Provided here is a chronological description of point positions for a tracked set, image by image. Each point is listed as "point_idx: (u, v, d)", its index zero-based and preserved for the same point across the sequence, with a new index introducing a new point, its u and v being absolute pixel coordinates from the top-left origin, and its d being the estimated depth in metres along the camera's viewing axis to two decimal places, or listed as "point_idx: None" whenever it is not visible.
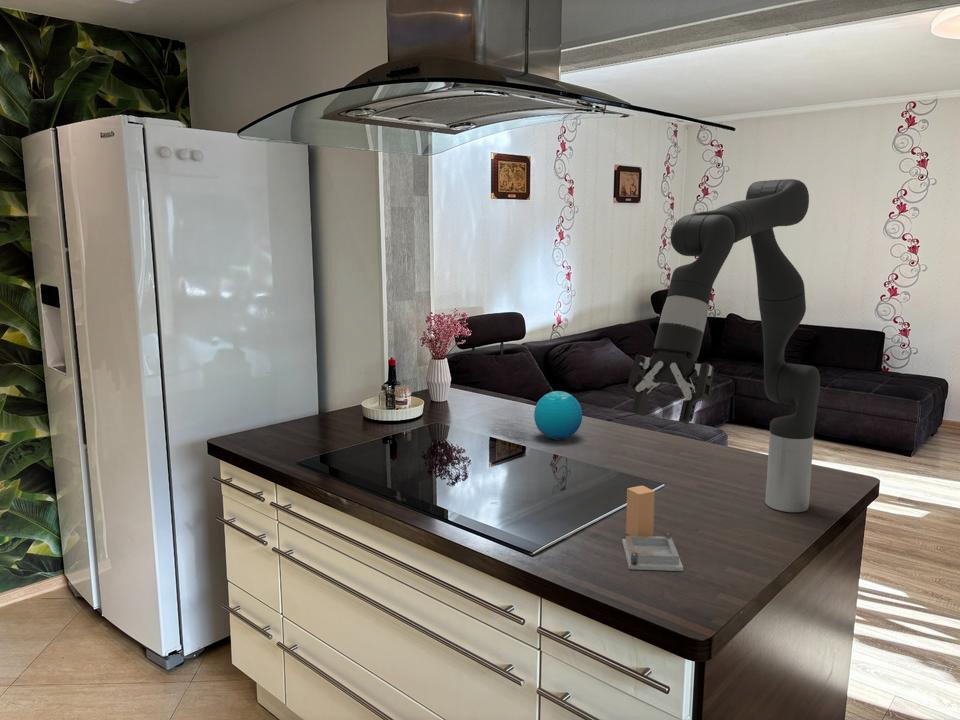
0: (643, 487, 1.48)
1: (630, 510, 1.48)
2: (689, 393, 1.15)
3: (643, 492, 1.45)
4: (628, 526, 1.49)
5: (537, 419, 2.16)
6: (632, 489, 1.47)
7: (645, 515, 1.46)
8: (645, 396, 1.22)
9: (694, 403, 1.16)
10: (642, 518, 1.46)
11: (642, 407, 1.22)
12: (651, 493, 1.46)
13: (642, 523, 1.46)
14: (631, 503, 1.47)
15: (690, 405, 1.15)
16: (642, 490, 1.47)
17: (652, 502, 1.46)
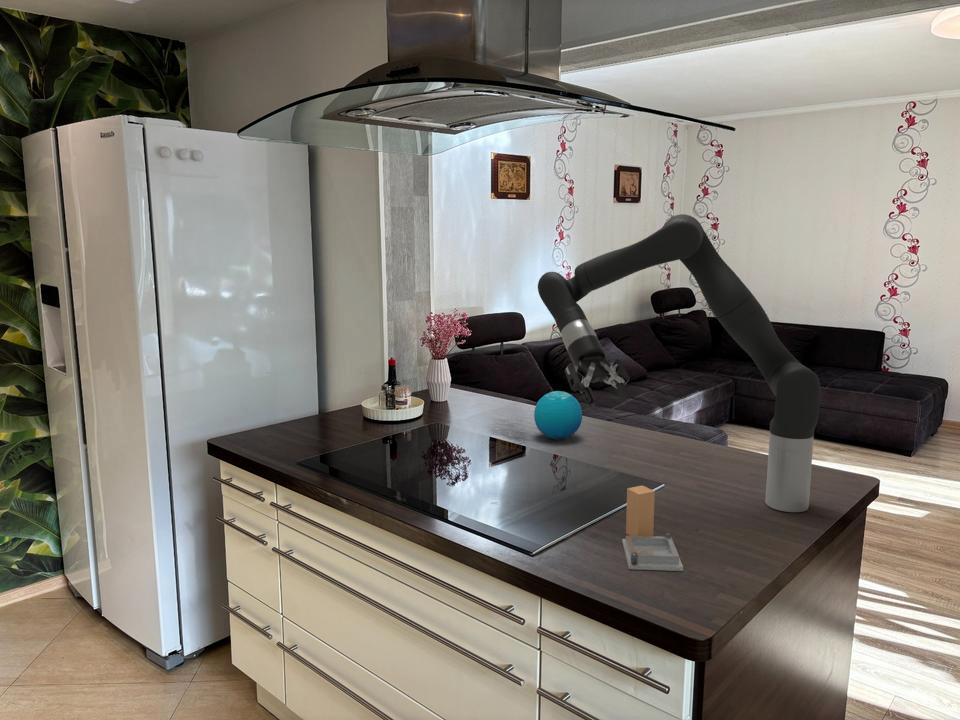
0: (643, 487, 1.48)
1: (630, 510, 1.48)
2: None
3: (643, 493, 1.45)
4: (628, 526, 1.49)
5: (537, 419, 2.16)
6: (632, 489, 1.47)
7: (645, 515, 1.46)
8: (618, 387, 1.58)
9: (583, 390, 1.54)
10: (642, 518, 1.46)
11: (622, 395, 1.57)
12: (651, 493, 1.46)
13: (642, 523, 1.46)
14: (631, 503, 1.47)
15: (583, 394, 1.54)
16: (642, 490, 1.47)
17: (652, 502, 1.46)
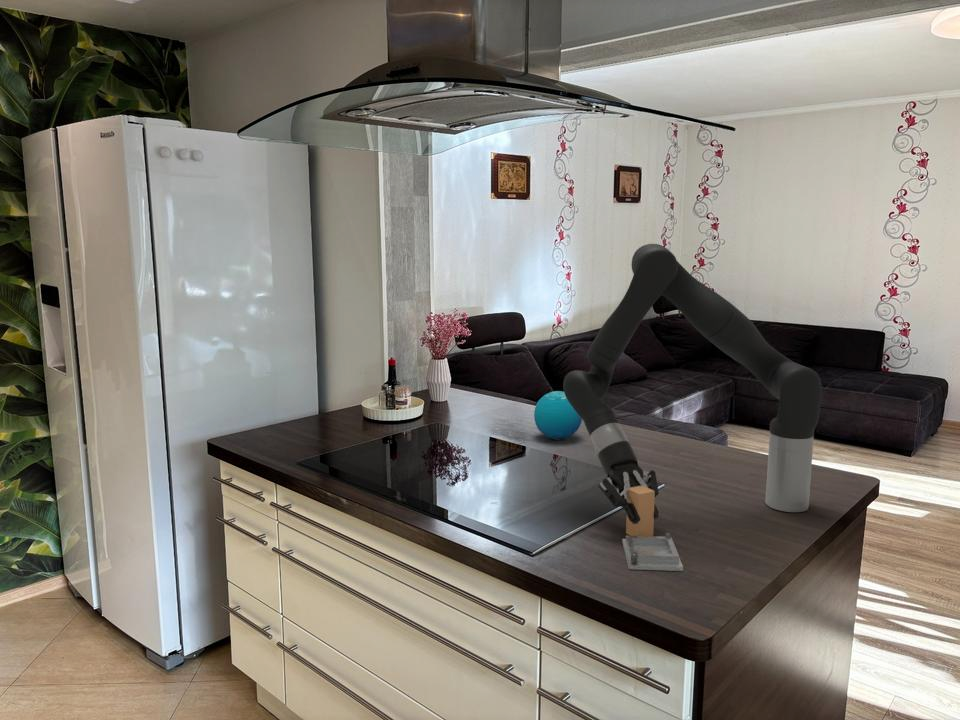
0: (643, 487, 1.48)
1: None
2: None
3: (643, 492, 1.45)
4: (628, 526, 1.49)
5: (537, 419, 2.16)
6: (632, 489, 1.47)
7: (645, 515, 1.46)
8: None
9: (625, 506, 1.47)
10: (642, 518, 1.46)
11: None
12: (651, 493, 1.46)
13: (642, 522, 1.46)
14: (631, 503, 1.47)
15: (626, 510, 1.47)
16: (642, 490, 1.47)
17: (652, 502, 1.46)
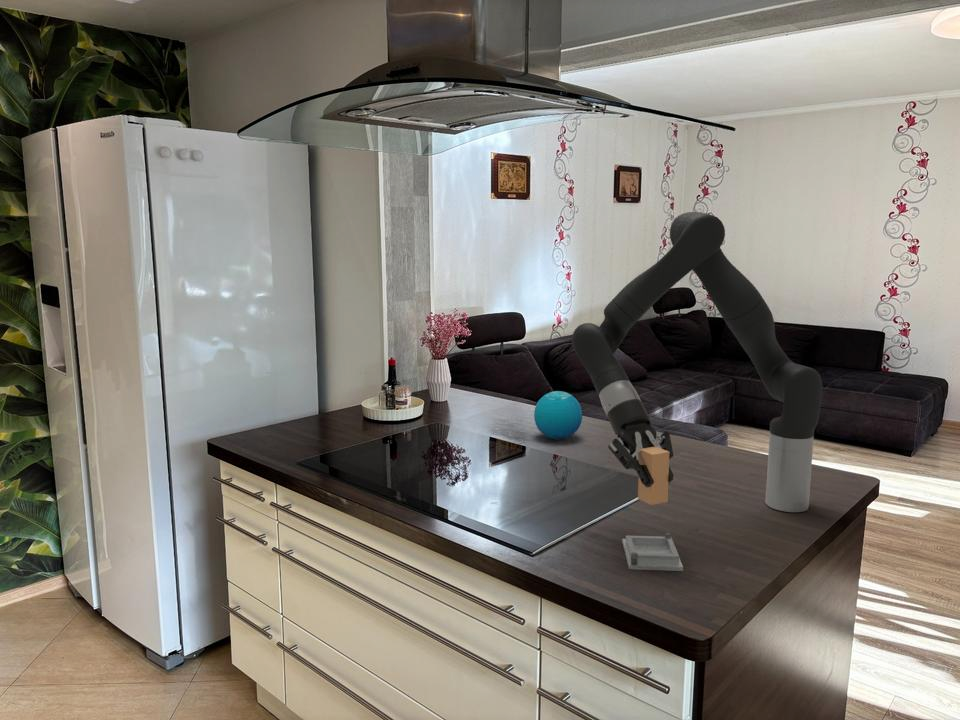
0: (657, 448, 1.36)
1: None
2: None
3: (657, 453, 1.33)
4: (640, 490, 1.37)
5: (537, 419, 2.16)
6: (645, 450, 1.35)
7: (659, 478, 1.34)
8: None
9: (638, 469, 1.35)
10: (655, 480, 1.34)
11: None
12: (666, 454, 1.34)
13: (656, 486, 1.34)
14: None
15: (638, 473, 1.35)
16: (656, 451, 1.35)
17: (667, 464, 1.34)
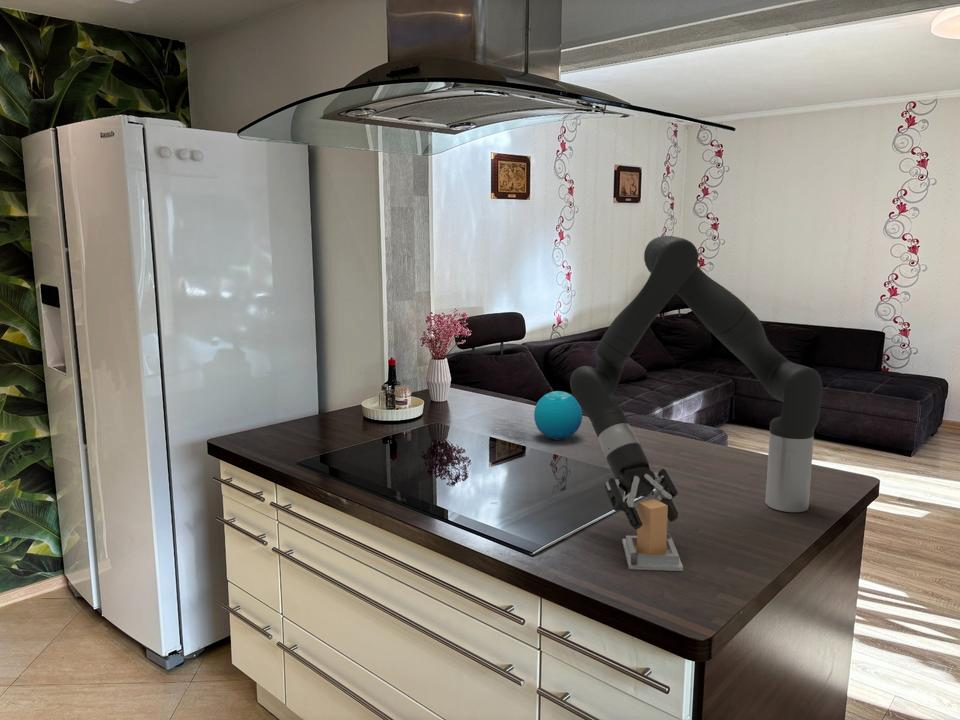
0: (655, 501, 1.38)
1: (641, 526, 1.38)
2: None
3: (655, 507, 1.35)
4: (638, 543, 1.39)
5: (537, 419, 2.16)
6: (644, 503, 1.37)
7: (657, 531, 1.36)
8: None
9: (626, 511, 1.36)
10: (654, 534, 1.36)
11: (669, 513, 1.39)
12: (664, 507, 1.36)
13: (654, 539, 1.36)
14: (642, 518, 1.37)
15: (626, 515, 1.36)
16: (654, 504, 1.36)
17: (665, 517, 1.36)
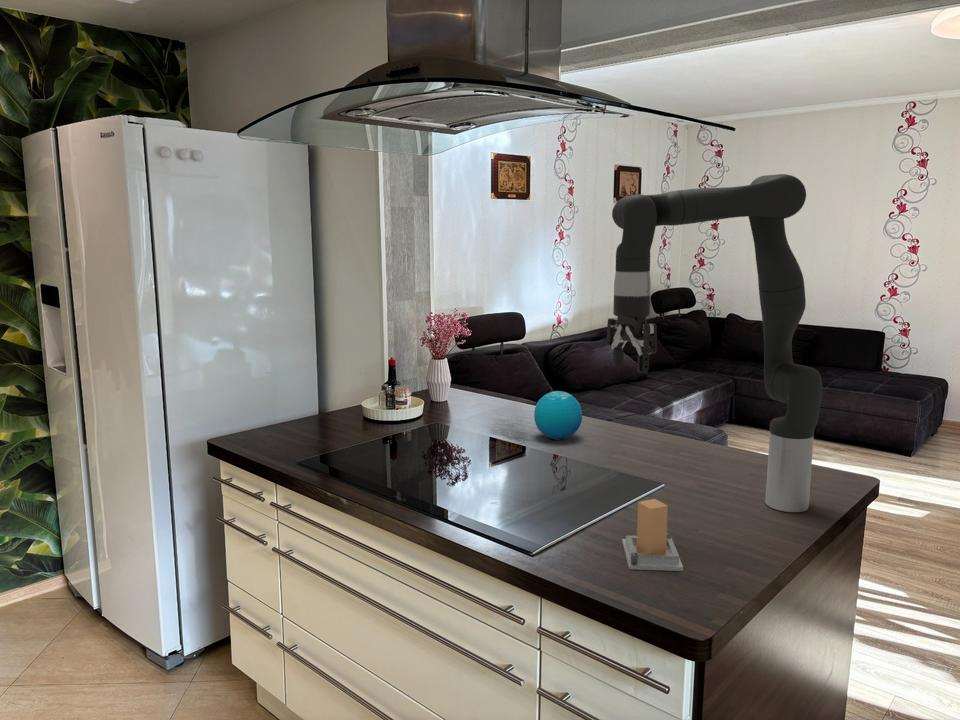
0: (655, 501, 1.38)
1: (641, 526, 1.38)
2: (640, 350, 1.44)
3: (655, 507, 1.35)
4: (638, 543, 1.39)
5: (537, 419, 2.16)
6: (644, 503, 1.37)
7: (657, 531, 1.36)
8: (620, 351, 1.53)
9: (646, 356, 1.44)
10: (654, 534, 1.36)
11: (619, 360, 1.53)
12: (664, 507, 1.36)
13: (654, 539, 1.36)
14: (642, 518, 1.37)
15: (643, 359, 1.44)
16: (654, 504, 1.36)
17: (665, 517, 1.36)
